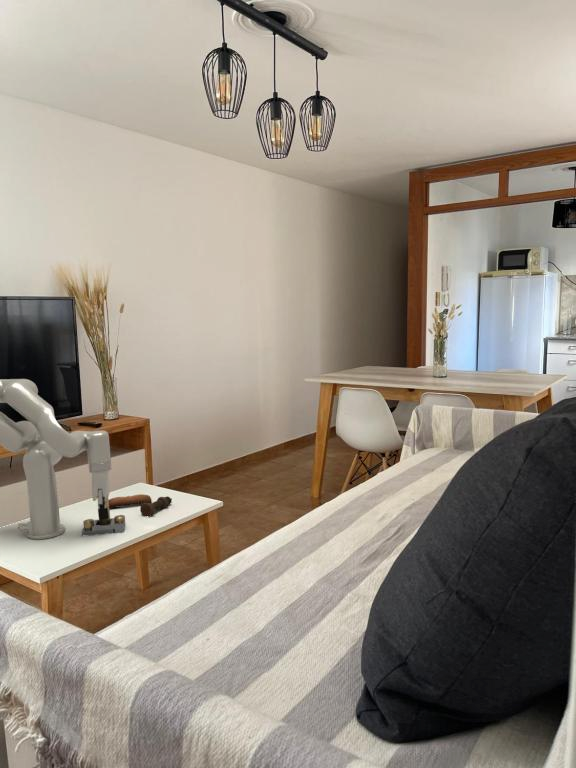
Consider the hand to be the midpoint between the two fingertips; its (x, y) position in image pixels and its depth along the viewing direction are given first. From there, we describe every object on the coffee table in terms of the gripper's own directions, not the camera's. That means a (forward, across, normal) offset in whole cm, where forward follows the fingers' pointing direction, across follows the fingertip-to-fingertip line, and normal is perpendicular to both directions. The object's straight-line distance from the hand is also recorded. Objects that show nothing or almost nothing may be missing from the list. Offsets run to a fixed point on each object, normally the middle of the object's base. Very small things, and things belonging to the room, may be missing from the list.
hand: (104, 516), depth 207 cm
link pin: (+3, 0, 0) cm, 3 cm away
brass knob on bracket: (+5, 0, 0) cm, 5 cm away
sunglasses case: (+6, -28, +6) cm, 29 cm away
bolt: (+6, -17, +18) cm, 25 cm away
